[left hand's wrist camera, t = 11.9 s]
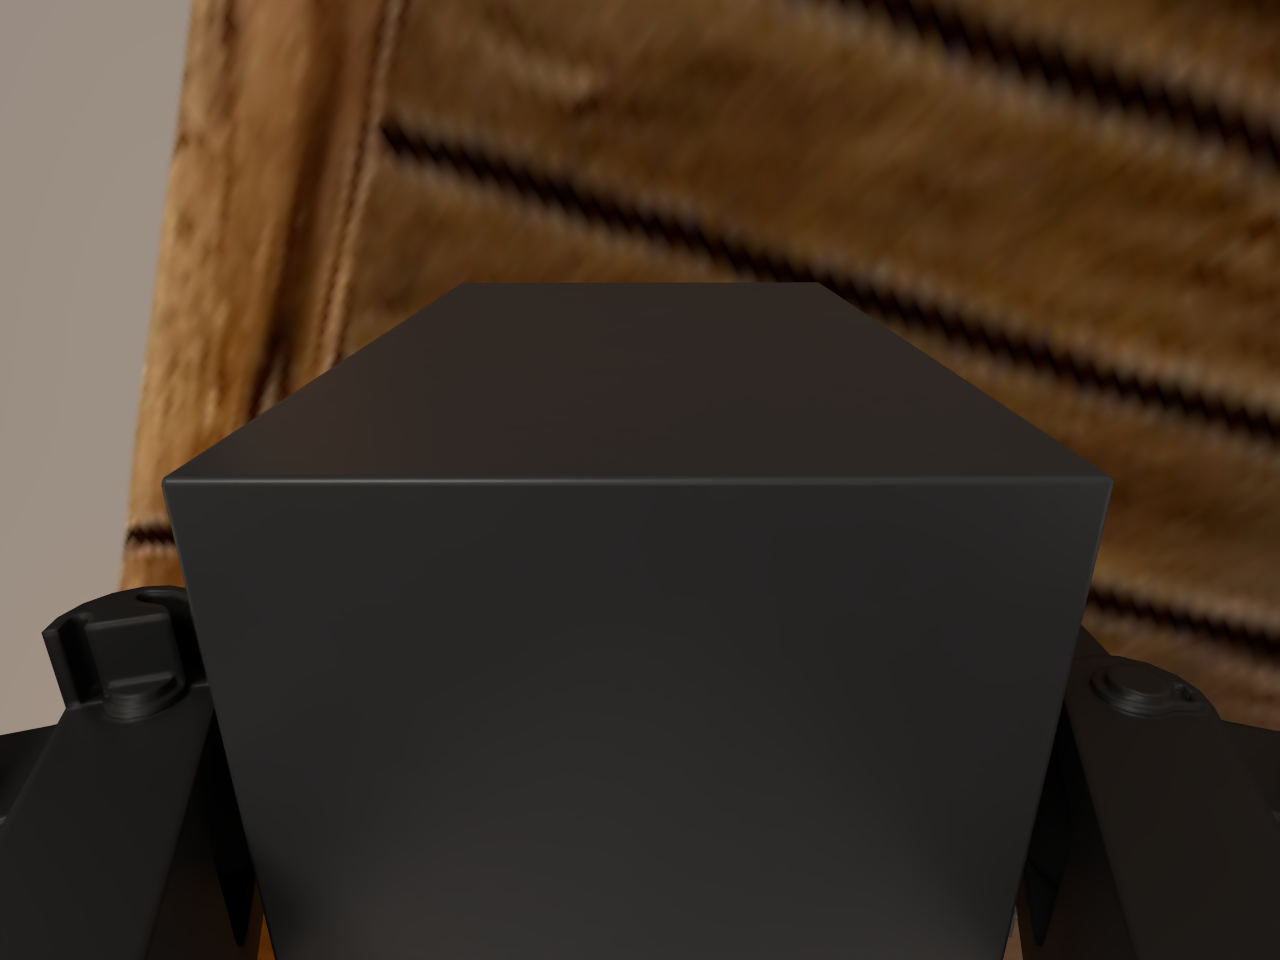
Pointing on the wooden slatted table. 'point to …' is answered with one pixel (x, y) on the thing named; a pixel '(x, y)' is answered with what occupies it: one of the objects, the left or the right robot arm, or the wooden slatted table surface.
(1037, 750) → the box
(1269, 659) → the wooden slatted table surface
